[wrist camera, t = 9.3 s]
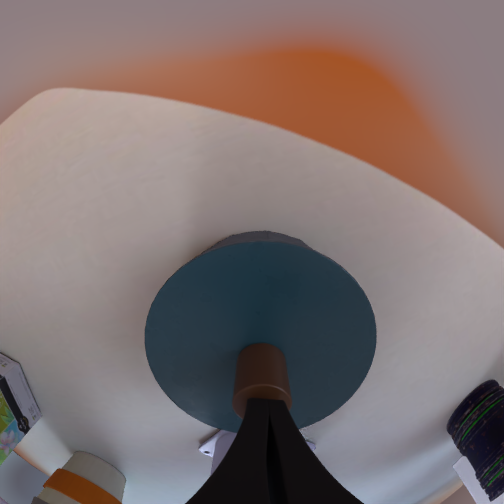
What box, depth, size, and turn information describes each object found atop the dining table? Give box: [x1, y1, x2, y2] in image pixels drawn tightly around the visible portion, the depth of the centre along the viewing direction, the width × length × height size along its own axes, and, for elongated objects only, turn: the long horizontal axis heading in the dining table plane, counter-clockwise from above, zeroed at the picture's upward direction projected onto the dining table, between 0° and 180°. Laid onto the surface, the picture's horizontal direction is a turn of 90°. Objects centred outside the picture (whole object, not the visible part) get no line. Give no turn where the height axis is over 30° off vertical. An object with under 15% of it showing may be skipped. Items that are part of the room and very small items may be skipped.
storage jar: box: [447, 380, 504, 502], centre depth 15 cm, size 10×10×15 cm
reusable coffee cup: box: [31, 451, 126, 504], centre depth 18 cm, size 13×13×15 cm
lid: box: [145, 240, 376, 433], centre depth 12 cm, size 12×12×4 cm
